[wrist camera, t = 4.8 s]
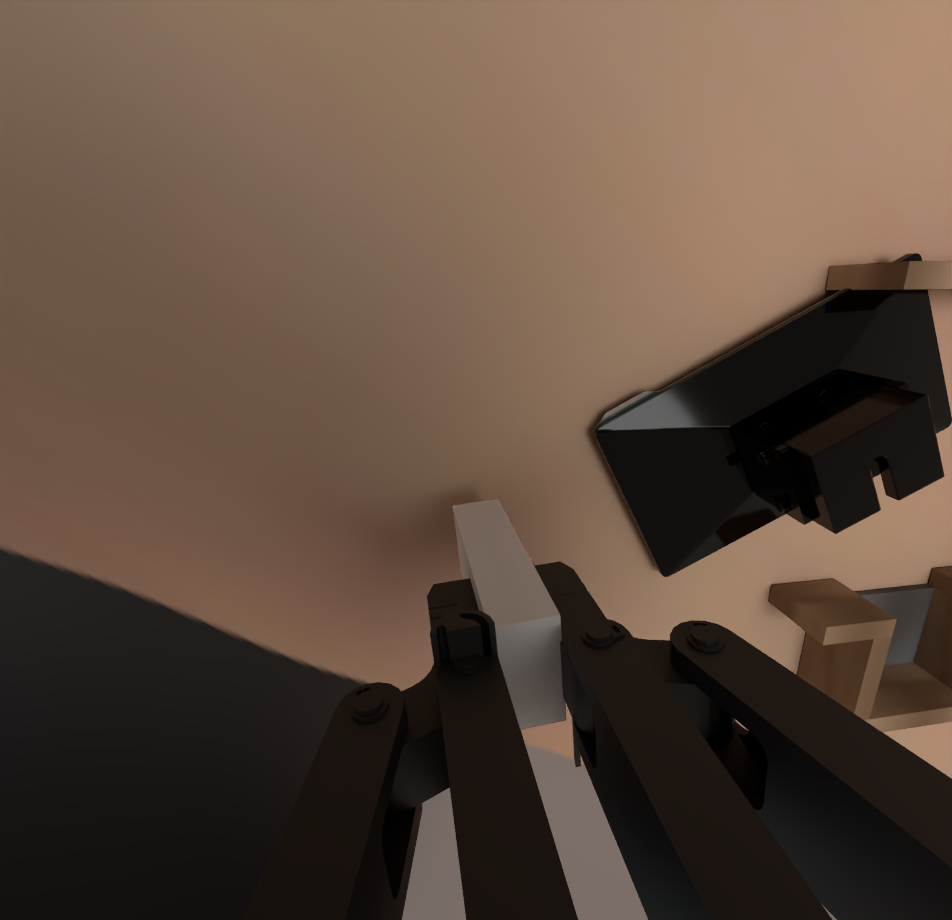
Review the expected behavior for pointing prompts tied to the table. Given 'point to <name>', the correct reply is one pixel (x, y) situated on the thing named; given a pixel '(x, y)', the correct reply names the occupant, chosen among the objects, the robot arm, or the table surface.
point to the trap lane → (879, 596)
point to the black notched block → (785, 427)
